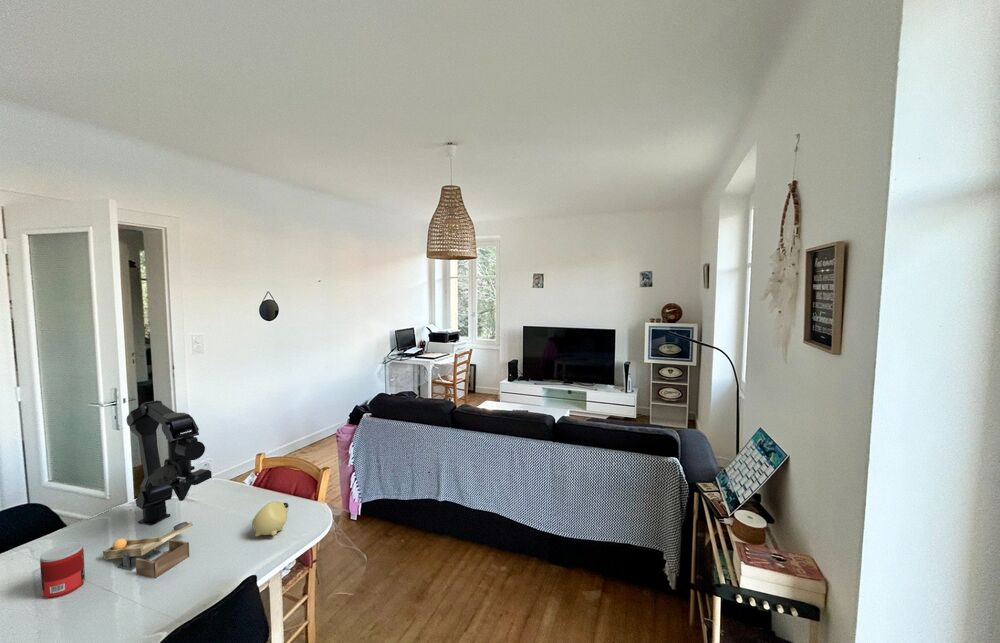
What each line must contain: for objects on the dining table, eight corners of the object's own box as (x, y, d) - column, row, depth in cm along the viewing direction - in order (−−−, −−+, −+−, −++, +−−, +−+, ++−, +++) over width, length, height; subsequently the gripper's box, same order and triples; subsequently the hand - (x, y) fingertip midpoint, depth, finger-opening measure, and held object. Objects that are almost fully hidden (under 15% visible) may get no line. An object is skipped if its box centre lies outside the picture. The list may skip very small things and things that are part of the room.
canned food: (91, 582, 113) (89, 544, 112) (52, 603, 106) (50, 562, 105) (75, 575, 116) (72, 538, 115) (35, 595, 108) (33, 555, 107)
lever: (104, 559, 122) (103, 551, 122) (159, 529, 137) (158, 522, 137) (141, 555, 119) (139, 547, 119) (193, 525, 134) (192, 518, 134)
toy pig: (294, 521, 145) (294, 493, 144) (278, 542, 133) (277, 511, 132) (265, 522, 144) (265, 493, 143) (247, 543, 132) (246, 511, 131)
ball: (110, 552, 123) (108, 542, 123) (122, 546, 126) (120, 536, 126) (118, 552, 122) (116, 542, 122) (130, 546, 126) (128, 536, 125)
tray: (136, 574, 117) (135, 559, 117) (171, 552, 127) (170, 538, 126) (155, 578, 115) (154, 563, 115) (189, 556, 125) (188, 542, 125)
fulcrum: (117, 567, 119) (117, 553, 119) (148, 550, 128) (147, 536, 127) (131, 570, 118) (130, 556, 118) (160, 552, 126) (160, 539, 126)
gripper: (129, 461, 127) (132, 510, 128) (179, 466, 123) (181, 516, 124) (165, 448, 138) (167, 493, 138) (212, 452, 134) (214, 498, 135)
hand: (181, 500), depth 134 cm, fingers closed
